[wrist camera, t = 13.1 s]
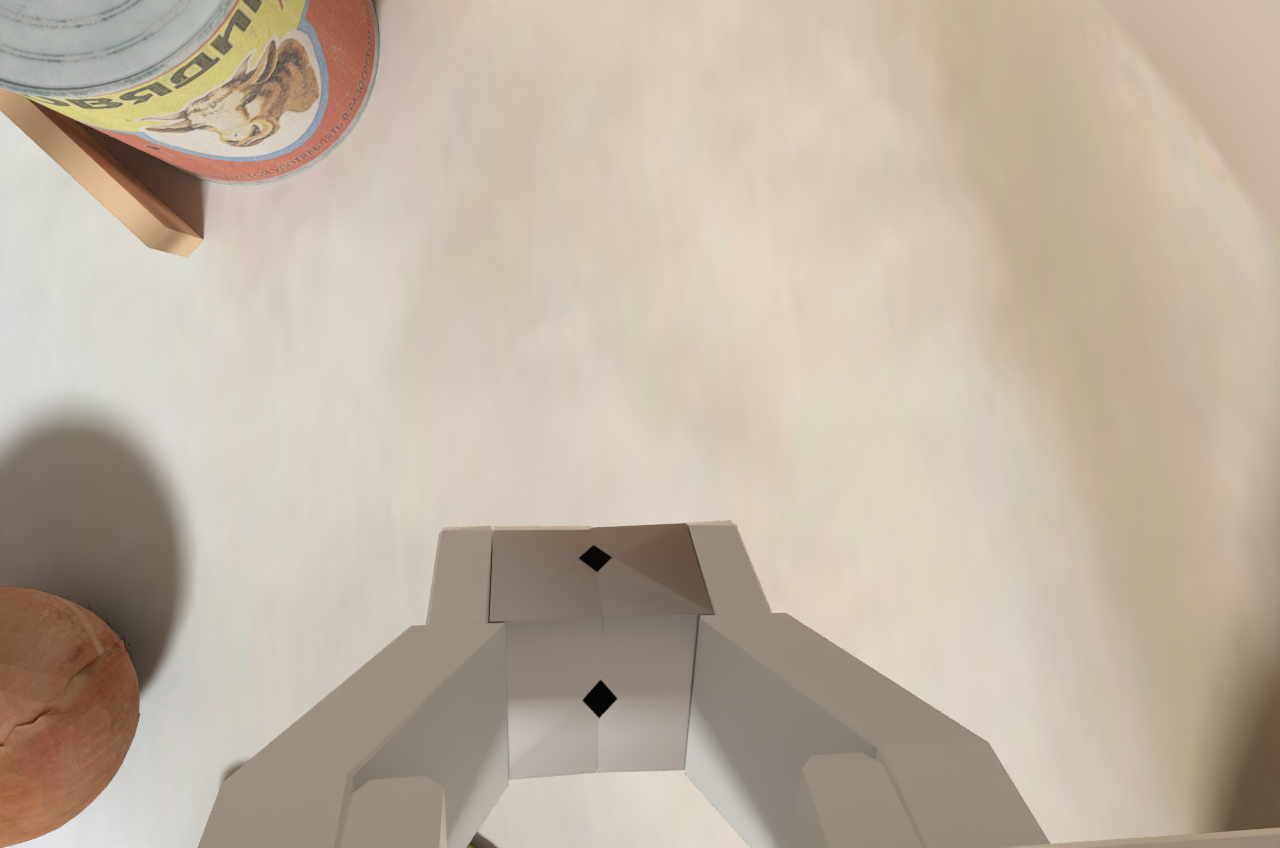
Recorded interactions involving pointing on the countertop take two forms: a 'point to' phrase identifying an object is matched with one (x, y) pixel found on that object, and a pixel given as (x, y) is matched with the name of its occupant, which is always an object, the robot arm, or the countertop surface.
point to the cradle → (101, 175)
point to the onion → (58, 710)
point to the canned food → (200, 76)
